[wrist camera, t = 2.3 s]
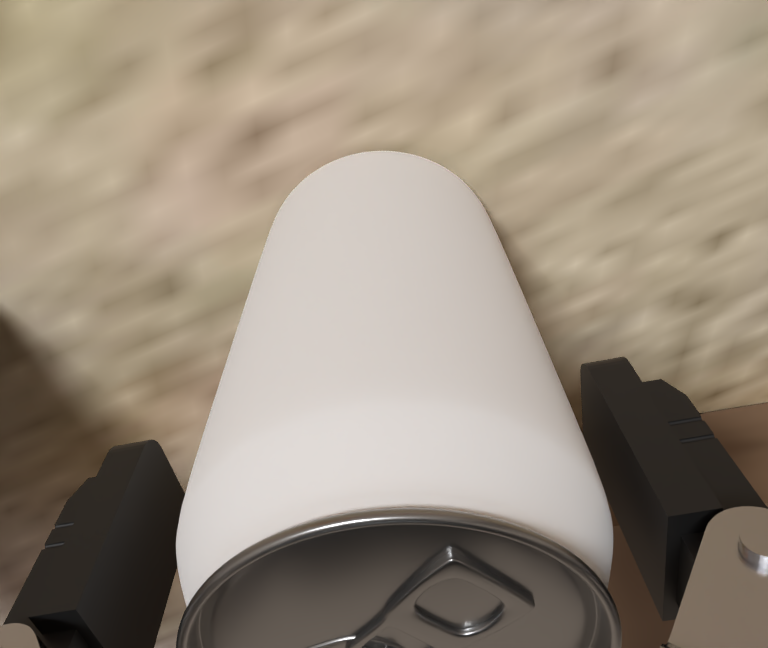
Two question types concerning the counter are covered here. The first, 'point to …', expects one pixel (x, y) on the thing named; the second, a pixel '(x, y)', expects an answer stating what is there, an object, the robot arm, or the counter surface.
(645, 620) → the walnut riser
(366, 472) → the can
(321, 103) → the counter surface
